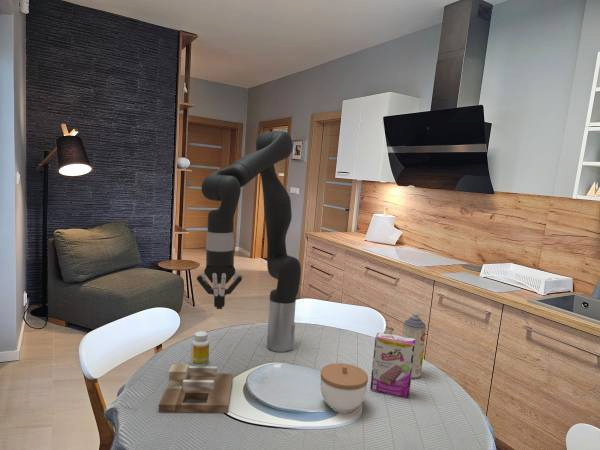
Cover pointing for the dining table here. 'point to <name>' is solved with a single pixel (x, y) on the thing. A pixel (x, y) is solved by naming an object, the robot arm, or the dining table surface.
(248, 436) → the dining table surface
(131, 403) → the dining table surface
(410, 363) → the candy bar box
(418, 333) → the aerosol can
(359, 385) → the lidded bowl
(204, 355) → the supplement bottle
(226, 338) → the dining table surface
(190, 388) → the channel deck
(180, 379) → the birch block
